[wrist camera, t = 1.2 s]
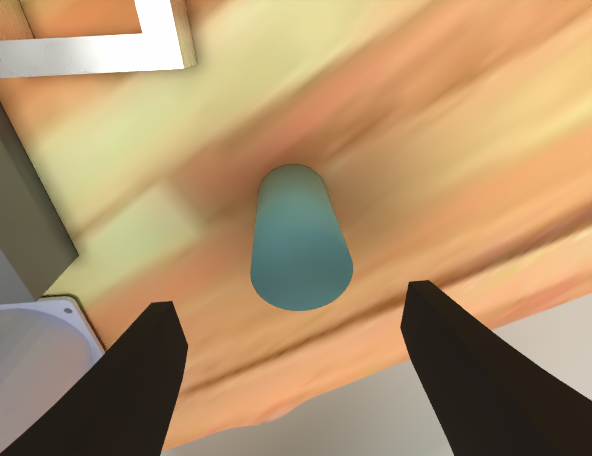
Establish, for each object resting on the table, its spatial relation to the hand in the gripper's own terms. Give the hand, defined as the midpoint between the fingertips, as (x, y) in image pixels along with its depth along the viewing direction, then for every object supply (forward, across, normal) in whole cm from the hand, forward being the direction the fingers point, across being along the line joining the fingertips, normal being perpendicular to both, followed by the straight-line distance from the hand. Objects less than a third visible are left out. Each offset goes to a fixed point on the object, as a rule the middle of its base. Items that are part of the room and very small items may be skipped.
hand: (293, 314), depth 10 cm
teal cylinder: (+10, 0, 0) cm, 10 cm away
